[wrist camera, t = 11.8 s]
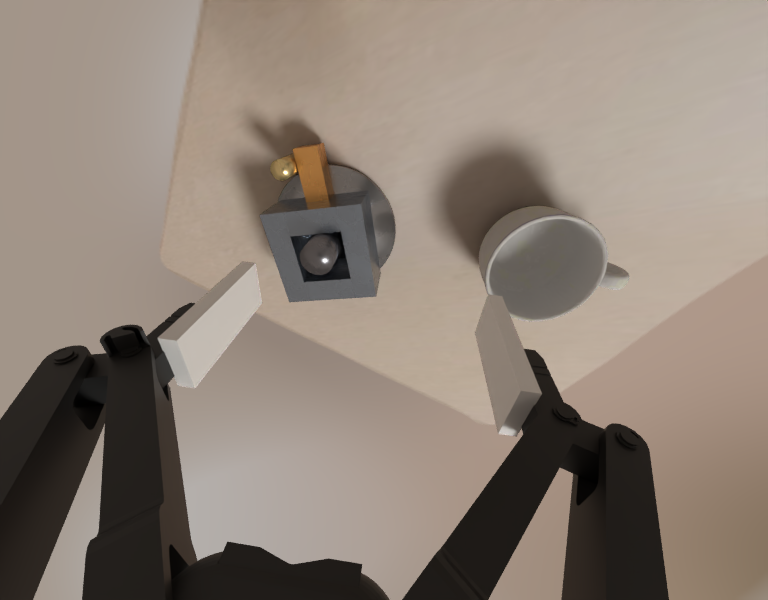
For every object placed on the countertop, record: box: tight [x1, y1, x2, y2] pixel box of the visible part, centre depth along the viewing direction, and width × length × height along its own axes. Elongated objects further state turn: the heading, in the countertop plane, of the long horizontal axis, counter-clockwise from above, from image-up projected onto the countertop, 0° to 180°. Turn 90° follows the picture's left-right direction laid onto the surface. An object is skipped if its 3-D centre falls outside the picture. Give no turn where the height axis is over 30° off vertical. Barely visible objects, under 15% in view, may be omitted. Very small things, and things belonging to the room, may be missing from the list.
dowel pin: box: [270, 153, 299, 181], centre depth 30 cm, size 2×2×5 cm
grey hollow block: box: [260, 143, 381, 302], centre depth 32 cm, size 15×10×6 cm, turn 7°
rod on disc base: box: [278, 165, 395, 275], centre depth 32 cm, size 14×14×9 cm
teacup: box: [479, 206, 629, 322], centre depth 32 cm, size 14×11×8 cm
